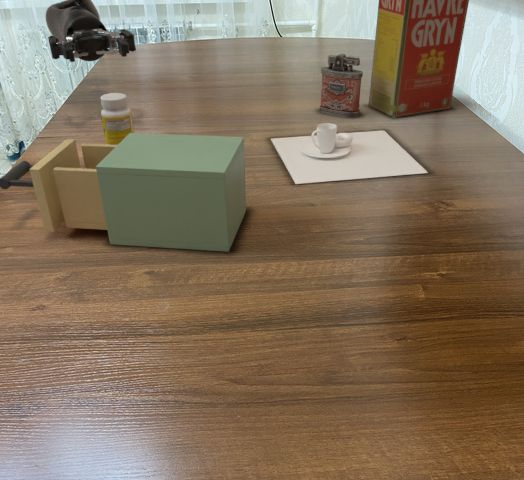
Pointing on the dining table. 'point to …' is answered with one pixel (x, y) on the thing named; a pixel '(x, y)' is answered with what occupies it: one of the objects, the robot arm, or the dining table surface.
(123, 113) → the supplement bottle
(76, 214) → the drawer
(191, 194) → the cabinet
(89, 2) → the robot arm
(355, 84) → the lighter
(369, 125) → the dining table surface
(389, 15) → the food packaging
